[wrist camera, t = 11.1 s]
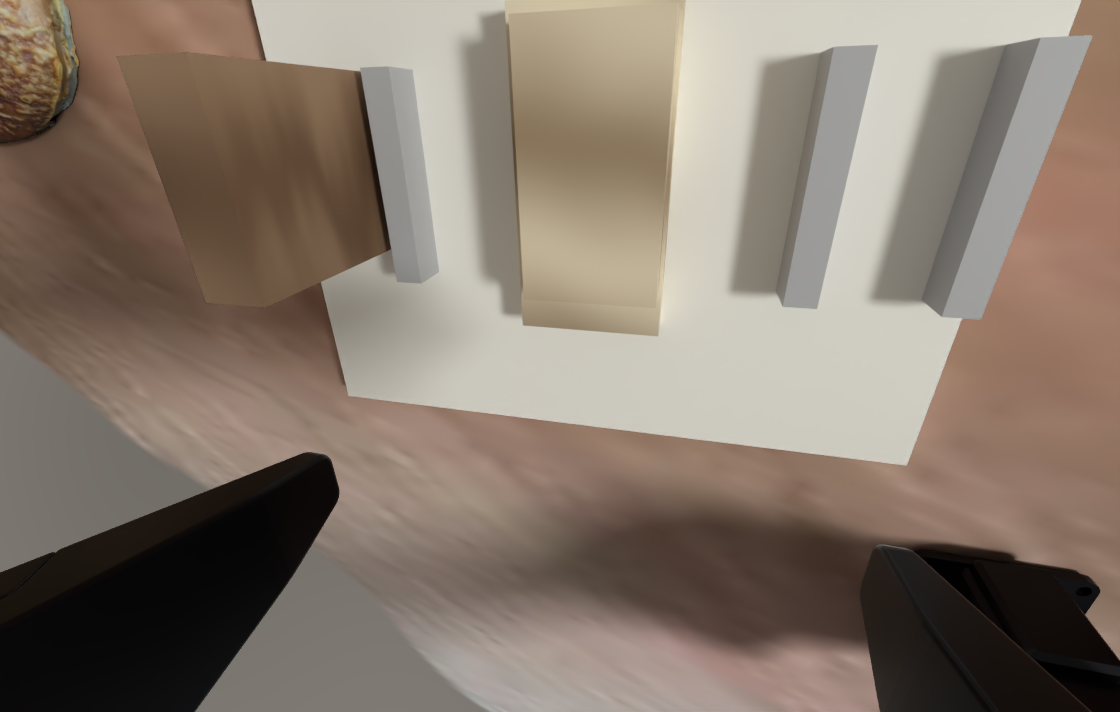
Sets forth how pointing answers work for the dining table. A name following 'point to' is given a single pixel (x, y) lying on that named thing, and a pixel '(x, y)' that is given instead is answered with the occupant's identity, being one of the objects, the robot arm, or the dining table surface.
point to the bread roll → (34, 66)
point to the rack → (707, 214)
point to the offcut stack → (593, 157)
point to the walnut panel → (261, 170)
